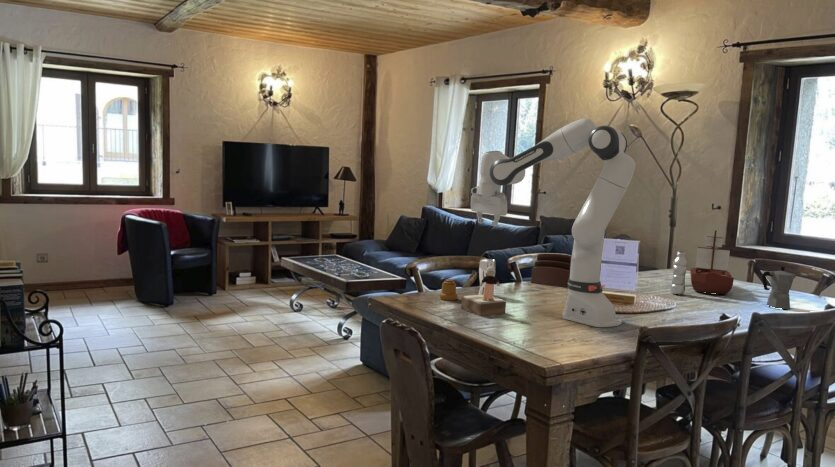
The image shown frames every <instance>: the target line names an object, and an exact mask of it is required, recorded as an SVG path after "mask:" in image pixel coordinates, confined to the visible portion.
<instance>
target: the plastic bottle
mask: <svg viewBox="0 0 835 467" xmlns="http://www.w3.org/2000/svg"><path fill="white" fill-rule="evenodd" d="M688 266H689V264H688V260H687V259H686V251H682V250H677V251H676V257H675V258H674V259H673V261H672V279H671V283H670V293H671V294H674V295H676V294H678V295H677V296H679V295H684V294H685V292H686V285H685V284H686V272H687V269H688Z"/></svg>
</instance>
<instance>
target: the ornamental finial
mask: <svg viewBox="0 0 835 467" xmlns="http://www.w3.org/2000/svg"><path fill="white" fill-rule="evenodd" d="M458 297H459V296H458V293H457V283H455V281H454V280H453V279H446V280H445V281H443V282H442V284H441V292H440V293H439V299H441V300H442V301H447V302H452V301H453V300H454V301H456V300H457V299H458Z"/></svg>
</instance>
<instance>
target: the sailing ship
mask: <svg viewBox="0 0 835 467" xmlns="http://www.w3.org/2000/svg"><path fill="white" fill-rule="evenodd" d="M717 231H718V230H716V229H715V230H714V231H713V232H714V233H713V236H710V235H709V236H706V243H705V247H704V246H697V247H696V248H697V250H696V260H695V267H694V268H693V267H691V268H690V272H689V273H690V274H689V275H690V280H691V281H690V282H691V283H690V284H691V287H692V289H693V291H695V292H696V291H699V292H698V293H700V292H706V293H716V294H725V295H727V294H729V292H731V290H732V288H733V285H734V277H733V276H732V274H731V272H729V263H730V261H729V260H730V254H731V253H730V252H731V249H725V248H723V239H724V237H721V236H717ZM706 293H705V294H706ZM716 294H715V295H716Z"/></svg>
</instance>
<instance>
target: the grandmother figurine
mask: <svg viewBox="0 0 835 467" xmlns="http://www.w3.org/2000/svg"><path fill="white" fill-rule="evenodd" d="M486 271H487V274H488V276H485V277H484V279H483V280H482V281H481V284H480V283H479V287H480V286H482V285H483V283H485V282H486V283H485V288H484V294H483V297H484V298H483V299H482V300H494V299H493V297H494V291H495V284H496V286H497V287H499V286H501V285H500V282H499V279H498V278H497V277H496V276H495V277H494V276H493V275H494V273H495V274H496V269H494V268H492V267H488V268H487V270H486Z"/></svg>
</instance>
